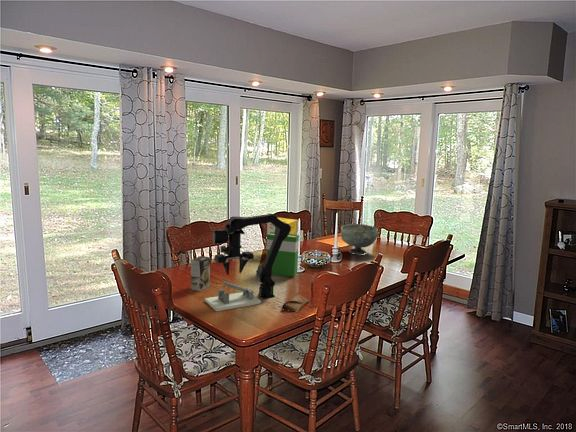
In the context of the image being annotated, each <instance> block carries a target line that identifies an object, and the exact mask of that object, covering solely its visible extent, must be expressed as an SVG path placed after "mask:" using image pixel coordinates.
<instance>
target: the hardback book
mask: <svg viewBox="0 0 576 432" xmlns="http://www.w3.org/2000/svg"><path fill="white" fill-rule="evenodd" d="M274 237H275V232H270V234H267V233H266V249H265V255H266V256H265V258H266V257H267V254H268V252H269V250H270V247H271V245H272V242H273V240H274ZM299 242H300V234H298V235H296V234H289V235H288V236H287V237H286V238H285V239H284V240H283V242H282V244H281V247H280V249H279V252H278V254H277V257H276V259H275V261H274V264H273V266H272V275H273V276H280V275H281V276H282V277H288V276H292V277H291V278H295V277H296V276H297V275H296V274H298V266H299V265H298V263H299V262H298V261H299V246H300V245H299V244H300V243H299ZM295 275H296V276H295ZM294 276H295V277H294Z"/></svg>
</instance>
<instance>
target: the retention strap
mask: <svg viewBox="0 0 576 432" xmlns="http://www.w3.org/2000/svg"><path fill="white" fill-rule="evenodd" d="M222 284H223V285H224V286H226V287H230V288H232V289H234V290H239V291H240V292H243V291H244V292H247V293H249V292H252V291H251V290H250V289H249V288H248V287H242V286H239V285H238V284H235V283H231V282H228V281H225V280H223V281H222ZM247 288H248V289H247Z"/></svg>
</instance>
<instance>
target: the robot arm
mask: <svg viewBox="0 0 576 432" xmlns="http://www.w3.org/2000/svg"><path fill="white" fill-rule="evenodd" d="M278 218H279V217H277V216H276V215H275V214H273V213H267V214H266V213H265V214H261V215H252V216H233V215H232V216H230V217H229V219H228V220H227V223H226V225H225V226H224V227H223V229H213V233H212V243H213V244H214V245H221V246H220V249H219V250H220V253H221V254H220V253H219V254H215V255H214V259H213V260H214V262H217V264H222V265H223V267H224V270H225V273H226V275H227V276H229V273H230V262H229V260H235V259H238V260H239V268H238V270H239V271H238V272H239V273H240V274H241V273H242V272H243V270H244V268H245V266H246V265H247V263H248V262H250V260H254V258H255V255H254V253H253V252H251V251H248V250H246V251H242V252H241V249H242V247H243V246H242V244H241V235H245V234H246V232H245V231H244V230H243V229H245V228H246V227H248V226H250V227H251V226H255V225H262V224H263V225H264V224H267V223H270V222H271V223H272V224H273V225H274V226H275V227H276V228H275V237H274V240H273V242H272V245H271V247H270V250H269V252H268V254H267V257H266V256H265V260H264V262H263V263H262V265H260V264H259V265H258V266H257V269H256V270H255V273H256V274H255V276H256V278H257V279H258V280H259V282H260V283H259V287H258V293H257V295H258V296H260V297H261V298H262V299H270V298H275V297H276V296H275V294H274V286H275V285H276V282H275V281H274V280H273V279H272V266H273V264H274V261H275V259H276V257H277V254H278V252H279V249H280V247H281V244H282V242H283V240H284V239H285V238H286V237H287V236H288V235H289V233H290V231H291V227H290V225H289V224H287V223H285V222H283V221H281V220H279V219H278ZM227 243H228V244H227ZM222 244H223V245H222ZM224 244H227V246H226V245H224Z"/></svg>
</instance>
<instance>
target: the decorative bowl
mask: <svg viewBox="0 0 576 432" xmlns="http://www.w3.org/2000/svg"><path fill="white" fill-rule="evenodd" d="M340 228H341V229H340V230H341V231H340V233H341V234H340V235H341V237H340V238H341V240H342V242H344V243H346V244H347V245H348V246H351V247H354V248H351V249H349V251H348V253H349V252H351V253H354V254H364V253H366V252H367V251H366V250H365V249H363V248H367V247H370V246H371V245H373V244H374V243H375V242H376V240H377V238H378V236H379V232H378V231H379V228H378V227H376V226H372V225H368V224H363V223H361V224H360V223H348V224H344V225H342V226H340Z"/></svg>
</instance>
